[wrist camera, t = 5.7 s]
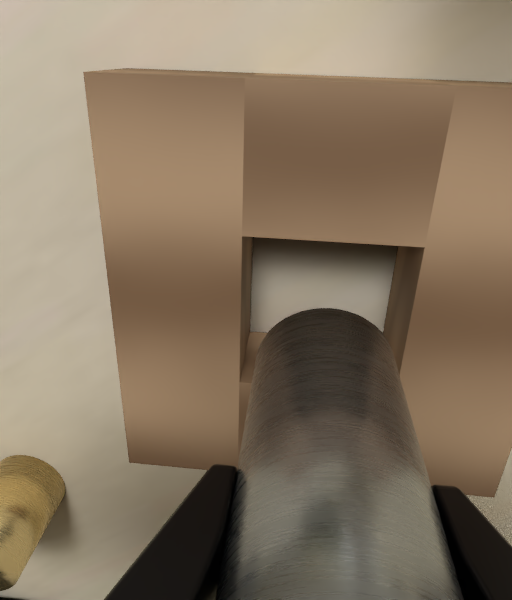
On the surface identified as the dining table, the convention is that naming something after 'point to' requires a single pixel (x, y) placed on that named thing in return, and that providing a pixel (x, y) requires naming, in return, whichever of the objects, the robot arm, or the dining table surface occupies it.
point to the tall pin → (332, 475)
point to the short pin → (24, 511)
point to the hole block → (305, 226)
